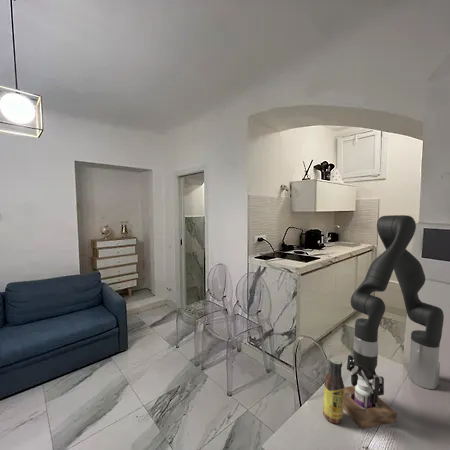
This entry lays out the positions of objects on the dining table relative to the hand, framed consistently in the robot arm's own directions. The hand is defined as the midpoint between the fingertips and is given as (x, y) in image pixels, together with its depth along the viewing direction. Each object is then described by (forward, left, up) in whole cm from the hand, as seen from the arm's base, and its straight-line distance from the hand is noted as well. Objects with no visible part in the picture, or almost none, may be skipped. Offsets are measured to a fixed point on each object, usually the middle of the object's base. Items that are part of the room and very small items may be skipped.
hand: (363, 393), depth 85 cm
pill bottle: (0, 0, -6) cm, 6 cm away
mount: (0, 0, -6) cm, 6 cm away
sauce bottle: (+13, +1, -6) cm, 14 cm away
